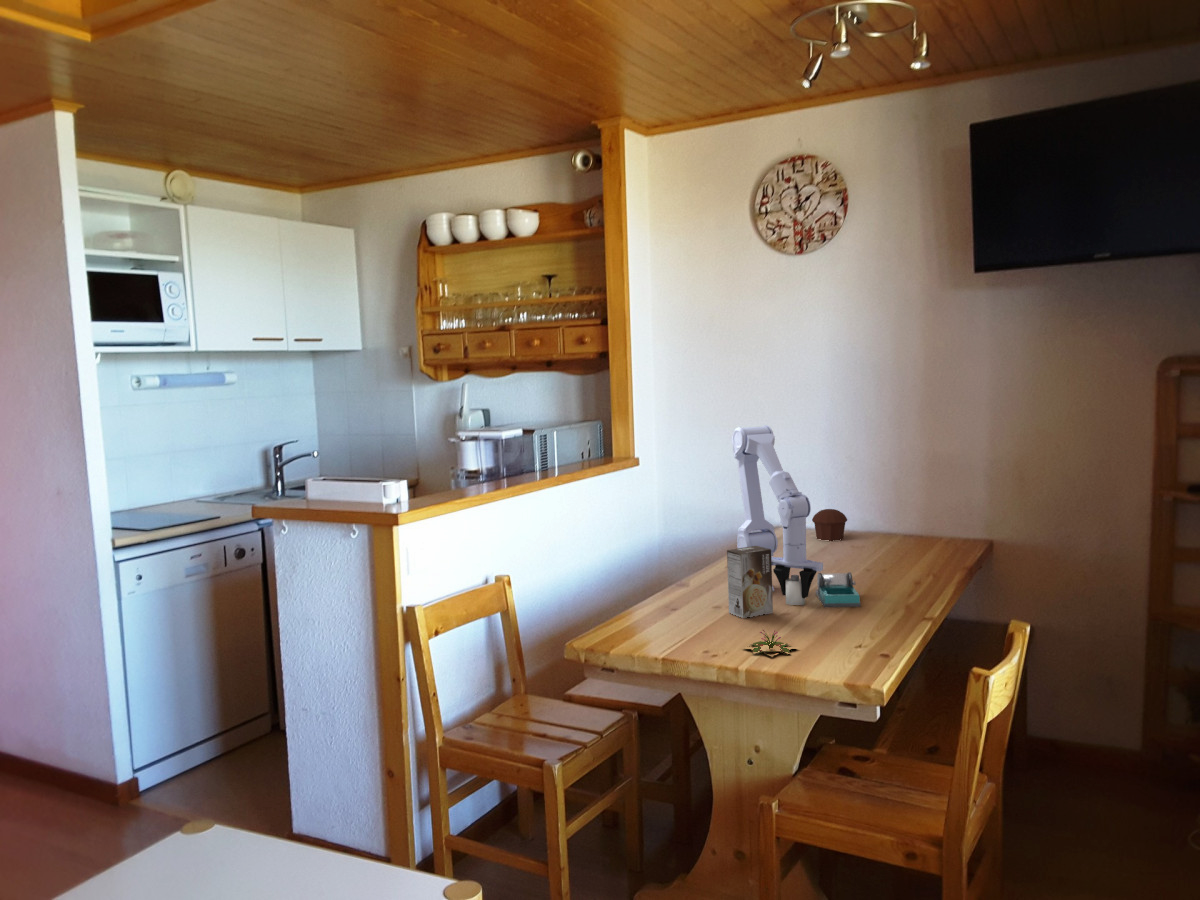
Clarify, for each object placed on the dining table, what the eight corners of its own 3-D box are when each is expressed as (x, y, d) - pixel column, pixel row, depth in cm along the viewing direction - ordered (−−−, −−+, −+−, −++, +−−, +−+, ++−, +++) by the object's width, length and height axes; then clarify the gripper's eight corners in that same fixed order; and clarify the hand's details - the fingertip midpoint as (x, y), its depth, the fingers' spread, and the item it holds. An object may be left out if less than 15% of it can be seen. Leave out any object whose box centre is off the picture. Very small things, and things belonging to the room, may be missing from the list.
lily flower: (810, 652, 206) (810, 631, 206) (772, 664, 199) (772, 642, 199) (768, 640, 216) (768, 620, 215) (730, 651, 209) (730, 630, 208)
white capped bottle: (786, 606, 243) (786, 577, 242) (784, 601, 247) (784, 573, 247) (806, 605, 242) (805, 577, 241) (803, 600, 247) (803, 573, 246)
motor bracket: (823, 607, 240) (823, 583, 239) (815, 593, 254) (815, 570, 253) (863, 606, 239) (862, 582, 239) (852, 593, 253) (852, 569, 253)
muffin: (812, 542, 322) (812, 512, 321) (811, 535, 333) (810, 507, 332) (849, 542, 320) (849, 512, 319) (846, 535, 331) (846, 507, 330)
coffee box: (757, 607, 242) (756, 544, 240) (773, 613, 236) (772, 549, 234) (727, 613, 237) (726, 549, 236) (743, 619, 232) (741, 553, 230)
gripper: (828, 543, 242) (828, 596, 243) (776, 538, 251) (776, 589, 252) (815, 548, 236) (816, 602, 238) (763, 542, 245) (764, 594, 247)
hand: (795, 596), depth 245 cm, fingers closed on white capped bottle, 5 cm apart
